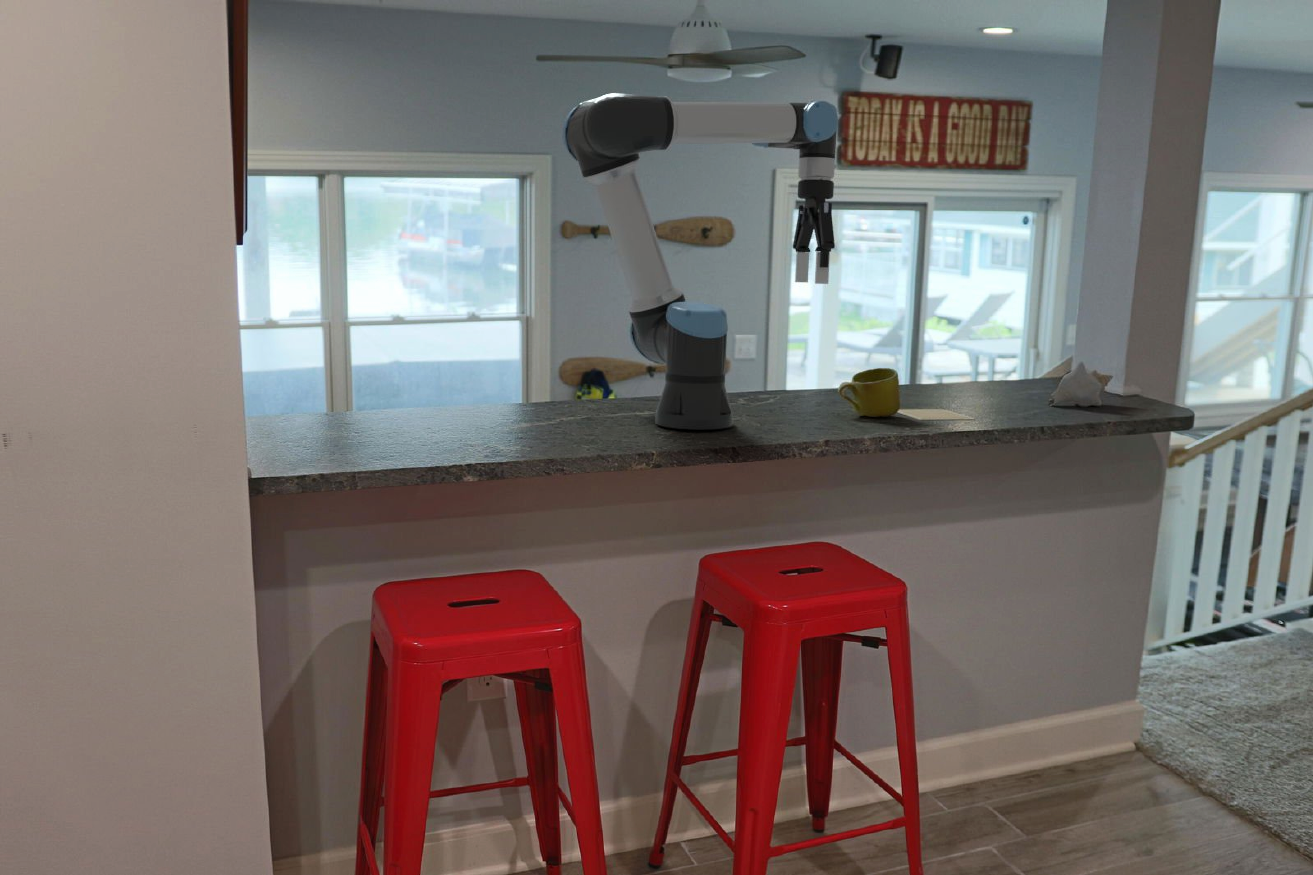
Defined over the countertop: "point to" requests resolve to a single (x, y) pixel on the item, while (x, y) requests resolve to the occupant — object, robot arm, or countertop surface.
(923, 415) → the mat
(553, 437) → the countertop surface
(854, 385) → the mug
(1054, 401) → the seashell
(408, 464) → the countertop surface
